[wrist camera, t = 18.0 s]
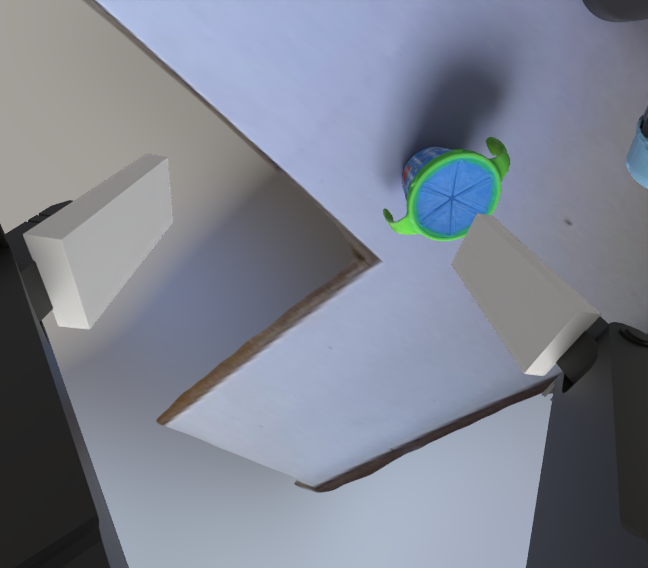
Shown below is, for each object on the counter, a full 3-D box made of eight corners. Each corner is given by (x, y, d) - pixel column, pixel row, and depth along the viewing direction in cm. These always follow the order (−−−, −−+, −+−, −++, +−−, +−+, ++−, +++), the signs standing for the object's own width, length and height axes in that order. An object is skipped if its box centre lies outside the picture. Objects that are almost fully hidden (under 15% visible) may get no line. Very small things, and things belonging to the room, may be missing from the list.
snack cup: (473, 103, 40) (515, 117, 32) (492, 176, 45) (533, 204, 37) (361, 170, 44) (373, 197, 36) (391, 229, 50) (408, 264, 42)
